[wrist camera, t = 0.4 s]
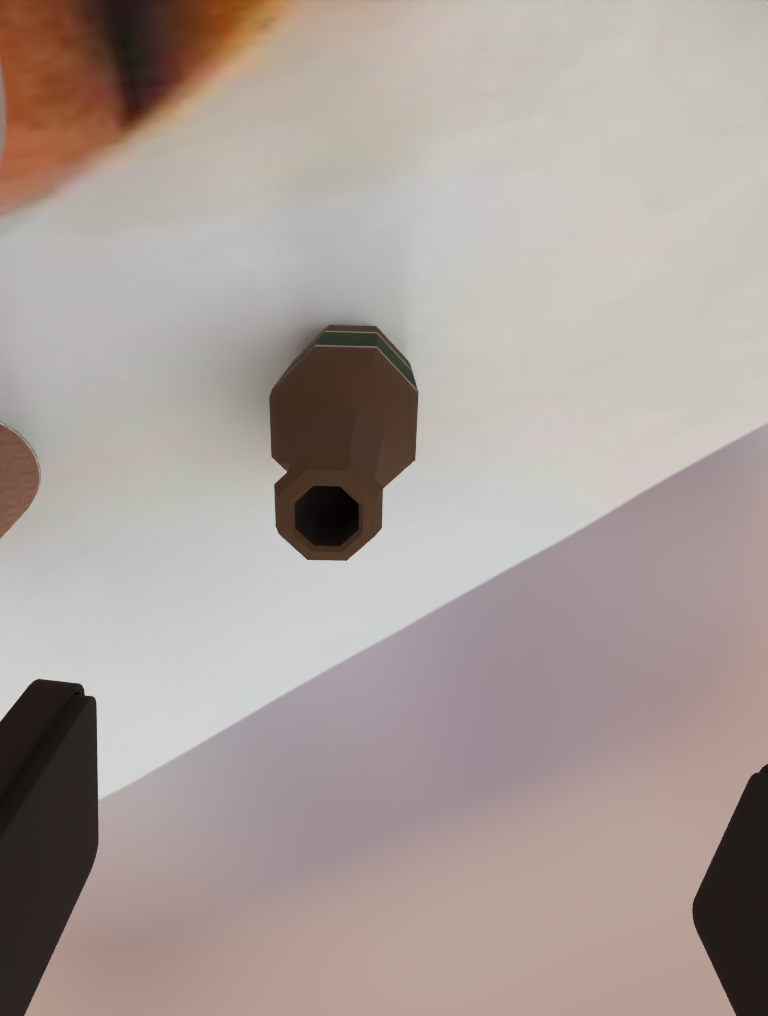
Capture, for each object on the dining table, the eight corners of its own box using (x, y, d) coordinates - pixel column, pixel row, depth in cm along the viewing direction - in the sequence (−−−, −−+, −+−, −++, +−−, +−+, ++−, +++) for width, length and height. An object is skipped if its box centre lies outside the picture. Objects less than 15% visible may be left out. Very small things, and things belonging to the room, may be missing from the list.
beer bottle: (428, 413, 44) (481, 581, 22) (321, 453, 45) (265, 654, 22) (387, 300, 41) (398, 357, 19) (274, 345, 42) (157, 450, 20)
